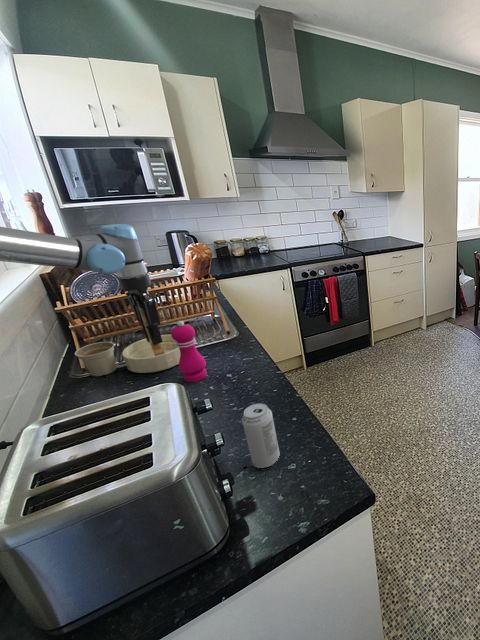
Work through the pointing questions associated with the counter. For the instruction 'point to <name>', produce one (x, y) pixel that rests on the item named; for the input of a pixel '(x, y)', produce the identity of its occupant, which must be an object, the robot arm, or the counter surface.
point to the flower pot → (98, 358)
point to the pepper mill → (189, 353)
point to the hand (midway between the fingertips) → (155, 341)
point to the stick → (156, 348)
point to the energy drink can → (260, 435)
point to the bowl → (151, 356)
